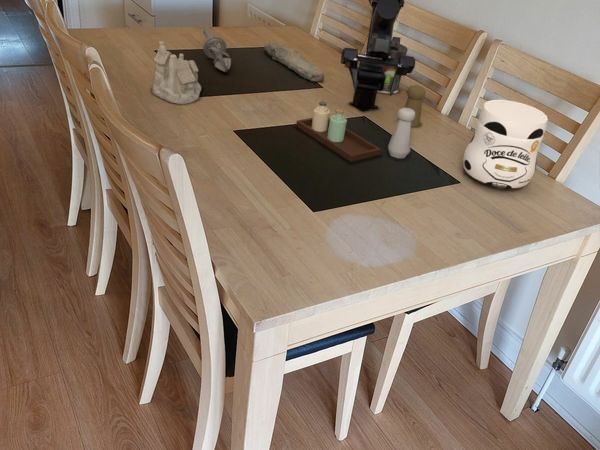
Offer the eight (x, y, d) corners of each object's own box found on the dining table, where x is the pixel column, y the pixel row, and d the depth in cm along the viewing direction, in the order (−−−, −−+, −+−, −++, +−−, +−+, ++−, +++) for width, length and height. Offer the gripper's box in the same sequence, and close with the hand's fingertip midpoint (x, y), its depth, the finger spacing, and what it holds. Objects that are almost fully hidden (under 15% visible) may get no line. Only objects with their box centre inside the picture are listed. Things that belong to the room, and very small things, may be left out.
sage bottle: (336, 134, 161) (340, 106, 157) (346, 140, 158) (351, 112, 154) (323, 136, 159) (328, 108, 154) (334, 143, 156) (338, 114, 152)
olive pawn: (421, 122, 177) (430, 86, 171) (416, 128, 172) (425, 92, 167) (402, 116, 179) (410, 81, 173) (396, 123, 174) (404, 87, 168)
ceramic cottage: (171, 105, 166) (173, 51, 159) (142, 88, 176) (143, 36, 169) (218, 100, 175) (222, 48, 168) (188, 84, 186) (190, 34, 178)
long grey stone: (304, 87, 194) (329, 86, 199) (307, 72, 191) (333, 71, 197) (256, 48, 217) (279, 48, 222) (258, 34, 214) (281, 34, 220)
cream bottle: (320, 124, 166) (324, 99, 162) (330, 130, 163) (334, 104, 159) (308, 126, 163) (311, 101, 159) (317, 132, 160) (321, 107, 156)
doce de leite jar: (491, 200, 141) (515, 130, 131) (445, 166, 153) (463, 100, 143) (543, 190, 148) (569, 123, 138) (495, 159, 161) (515, 95, 151)
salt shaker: (410, 154, 157) (421, 108, 150) (406, 163, 152) (417, 116, 145) (388, 149, 158) (398, 103, 151) (384, 158, 153) (393, 110, 146)
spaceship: (218, 21, 215) (198, 13, 211) (243, 63, 190) (221, 54, 186) (209, 41, 219) (189, 33, 214) (232, 84, 194) (210, 76, 189)
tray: (324, 122, 169) (325, 115, 168) (379, 156, 154) (381, 149, 153) (295, 127, 163) (296, 120, 162) (350, 163, 148) (351, 156, 147)
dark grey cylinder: (394, 96, 193) (403, 53, 186) (364, 89, 196) (372, 46, 189) (402, 87, 202) (411, 46, 194) (373, 80, 204) (380, 39, 197)
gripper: (347, 16, 145) (338, 79, 145) (423, 27, 145) (414, 90, 145) (344, 33, 157) (336, 91, 156) (415, 42, 156) (406, 101, 156)
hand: (372, 93), depth 153 cm, fingers open, 9 cm apart
